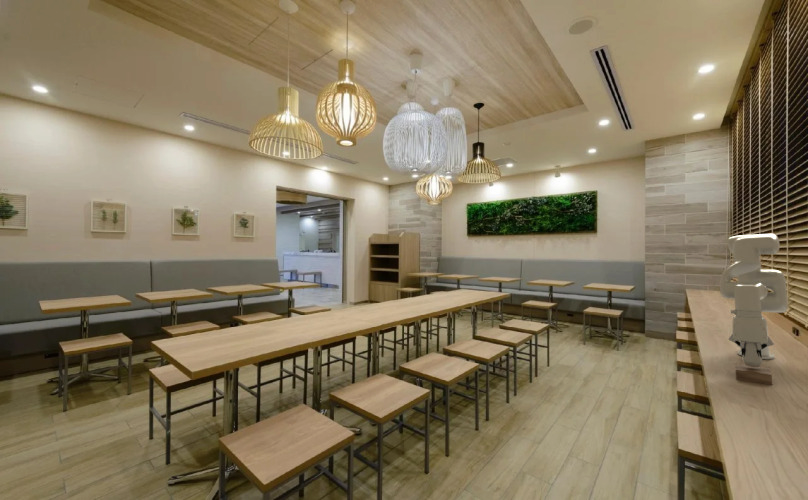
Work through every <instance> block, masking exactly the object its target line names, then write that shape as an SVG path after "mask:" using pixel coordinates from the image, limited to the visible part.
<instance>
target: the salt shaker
mask: <svg viewBox="0 0 808 500" xmlns="http://www.w3.org/2000/svg"><path fill="white" fill-rule="evenodd" d="M744 346H745V349H746V353H745V357H744V355H743V356H742V357H741V358H742V361H743V364H744V365H747V366H751V367H761V365H762V363H763V359H762V358H761V357H760V354H759V357H758V354H757V350H758V348H757V344H756V343H753V342H745V345H744Z"/></svg>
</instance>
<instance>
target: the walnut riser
mask: <svg viewBox="0 0 808 500" xmlns="http://www.w3.org/2000/svg"><path fill="white" fill-rule="evenodd" d="M772 376H773V375H772V372H771V369H770V367H766V366H759V367H751V366H747V365H746V364H745V363H735V377H736V378H735V379H736V380H737V381H745V382H750V383H757V384H762V385H770V386H773V378H772Z"/></svg>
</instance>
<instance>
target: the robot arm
mask: <svg viewBox="0 0 808 500" xmlns="http://www.w3.org/2000/svg"><path fill="white" fill-rule="evenodd" d="M726 244H727V248H728V249H729V252H730V253H731V255H732V257H733V259H732V260H733V263H732V264H731V265H730V266H728V267H727V268H726V269H724V270H723V271H722V273H721V275H720V278H719V291H720V295H721V296H722V297H723V298H725V299H728V300H729V299H730V300H734V308H735V309H733V310H730V314H734V316H733V318H732V333H731V334H730V336H729V337H728V340H729V341H730V342H732V343H734V344H735V345H737V346H736V347H738V348H740V349H739V350H737V354H738V355H740V356H742V357H743V355H744V357H745V353H746V349H745V346H744V345H745V342H753V343H756V344H757V348H758V350H757V354H758V357H759V354H760V357H761V358H762V360H772V359H775V354H773V353H770V346H773V345H775V343H774V342H773V340H772V339H771V338H770V336H769V332H768V330H769V329H768V321H767V319H766V317H764V316H763V315H762V312H763V313H764V312H765V313H779V314H780V313H785V312H787V311H788V308H789V304H788V303H789V302H788V301H789V300H788V292H787V291H788V290H787V282H786V277H785V274H784V273H783V272H782V271H781V270H777V269H763V268H762V263H761V262H762V260H761V258H760V257H761V256H760V255H775V254H777V253H778V252H779V251H780V247H781V245H780V240H779V237H778V235H776V234H775V233H761V234H760V233H759V234H743V235H735V236H731V237H729V238H727V240H726ZM735 277H737V281H731V280H732V279H733V278H735ZM768 290H770V291H772V292H768Z"/></svg>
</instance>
